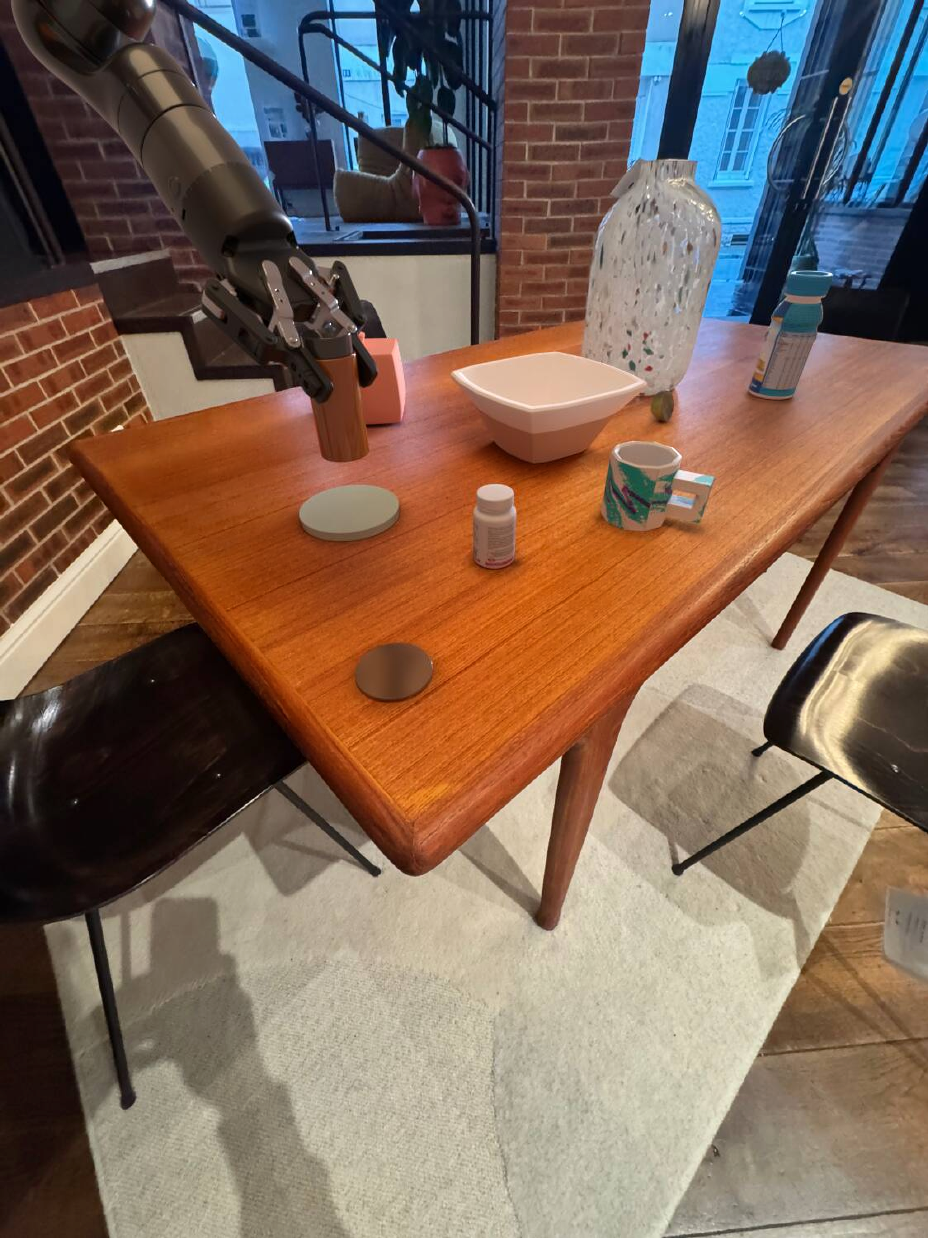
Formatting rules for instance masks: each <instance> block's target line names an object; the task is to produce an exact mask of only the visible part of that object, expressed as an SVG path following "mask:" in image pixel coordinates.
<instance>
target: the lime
mask: <svg viewBox="0 0 928 1238" xmlns="http://www.w3.org/2000/svg"><path fill="white" fill-rule="evenodd" d="M674 401H675V400H674V394H673V392H671V390H670V389H663V390H660V391H658V392H657V393H655V395H654V396H653V398H652V400H651V402H650V407H649V410H650V413H651V414H652V416H653V417H654V418H656V419H657V420H659V421H661V422H668V421H670V420H671V418H672V417H673V413H674V410H675V409H674V408H675V402H674Z"/></svg>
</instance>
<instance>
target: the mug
mask: <svg viewBox="0 0 928 1238" xmlns="http://www.w3.org/2000/svg"><path fill="white" fill-rule="evenodd" d="M682 458H683V456H682V455H681V454H680V453H679V452H678V451H677V450H676V449H675V448H674V447H672V446H668V445H665V444H662V443H659V442H656V441H644V440H643V441H642V440H641V441H640V440H632V441H627V442H623V443H622V442H621V443H619V444H617V445H616V446H615V447H613V449H612V450H611V451H610V456H609V460H608V467H607V473H606V479H605V485H604V489H603V495H602V501H601V508H600V514H601V516H602V517H603V519H604V521H605V522H606V523H607V524H610V525H612V526H614V527H616V528H619V529H621V530H623V531H634V532H648V531H651V530H655V529H658V528H661V527H662V526H663V524H664V522H665V520H666V518H667V517H668V518H669V517H670V518H674V519H678V520H682V521H683V520H684V521H687V522H691V523H695V524H700V523H701V520H702V518H703V516H704V513H705V510H706V507H707V504H708V500H709V498H710V495H711V491H712V488H713V485H714V482H715V479H716V476H712V475H709V474H708V475H707V474H703V473H697V472H693V471H692V472H691V471H688V470H682V469H680V466H681V462H682ZM674 491H676V492H681V493H686V494H691V495H695V496H694V498H690V497H686V496H680V495H676V494H673V492H674Z"/></svg>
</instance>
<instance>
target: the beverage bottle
mask: <svg viewBox="0 0 928 1238" xmlns="http://www.w3.org/2000/svg"><path fill="white" fill-rule="evenodd" d="M833 279H834V274H833V273H831V272H827V271H818V270H797V271H792V272H791V273H790V274H789V276H788V279H787V281H786V284H785V288H784V293H783V295H784V296H786V297H785V298H784V299H783V300H782V302H780V303H779V305H778V306H777V307H776V308H775V309H774V311H773V313H772V314H771V317H770V320H771V323H770V325H769V326H768V327H767V328H766V331H765V333H764V339H763V342H762V344H761V348H760V351H759V354H758V358H757V362H756V365H755V368H754V371H753V374H752V377H751V381H750V383H749V386H748V392H749V393H750V394H751V396H754V397H756V398H761V399H764V400H772V401H774V400H775V401H779V400H780V401H782V400H783V401H784V400H787V399H788V400H789V399H790V398H792V397H793V396H794V395H795V393H796V391H797V387H798V384H799V381H800V379H801V376H802V374H803V372H804V369H805V366H806V363H807V361H808V358H809V356H810V353H811V350H812V348H813V345H814V343H815V342H816V340H817V338H818V327H819V325H820V324H821V323H822V322H823V319H824V308H823V303H822V300H821V299H823V298H825V297H826V296H827V295H828V294H829V293H828V292H829V290H830V288H831V285H832V282H833Z"/></svg>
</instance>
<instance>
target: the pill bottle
mask: <svg viewBox="0 0 928 1238" xmlns="http://www.w3.org/2000/svg"><path fill="white" fill-rule="evenodd" d="M514 495H515V492H514V490H513V488H511V487H510V486H508V485H505V484H501V483H500V484H499V483H490V484H485V485H483V486H480V487H479V488H478V489H477V490H476V497H475V502H476V506H475V507H474V508H473V513H472V546H473V547H472V549H473V554H472V555H473V560H474V562H475V563H476V564H478V566H481V567H483V568H486V569H495V570H496V569H502V568H505V567H507V566H509V565H511V563H512V562H513V561H514V560H515V552H516V551H515V549H516V548H515V547H516V527H517V509H516V507H515V506H514V503H515V496H514Z"/></svg>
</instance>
